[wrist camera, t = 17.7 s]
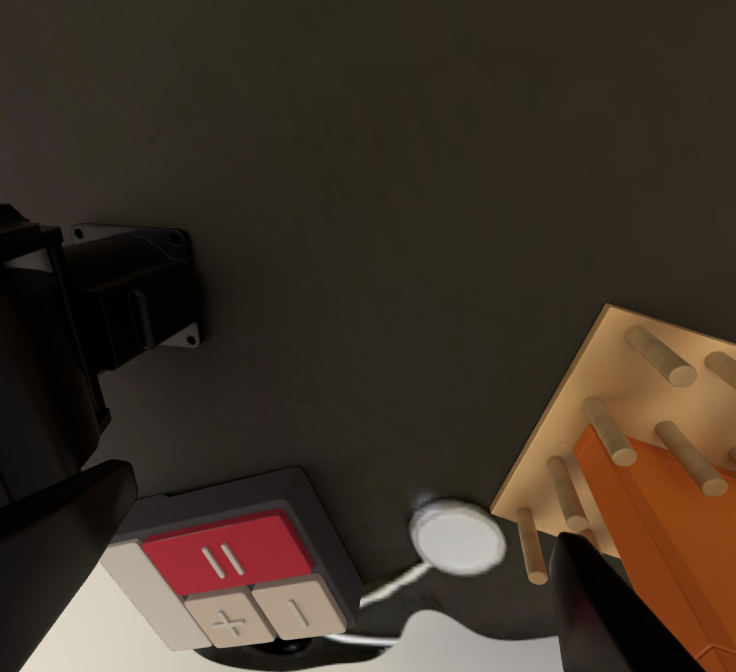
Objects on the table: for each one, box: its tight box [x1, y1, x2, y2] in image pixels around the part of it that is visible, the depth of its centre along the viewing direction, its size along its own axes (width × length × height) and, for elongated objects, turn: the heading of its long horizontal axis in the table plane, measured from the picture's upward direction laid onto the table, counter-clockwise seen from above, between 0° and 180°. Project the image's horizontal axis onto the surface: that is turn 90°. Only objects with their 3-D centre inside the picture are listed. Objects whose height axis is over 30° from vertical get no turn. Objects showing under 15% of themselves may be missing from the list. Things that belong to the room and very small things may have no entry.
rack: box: [490, 303, 736, 585], centre depth 19 cm, size 14×13×5 cm
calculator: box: [99, 467, 363, 651], centre depth 27 cm, size 11×4×15 cm
